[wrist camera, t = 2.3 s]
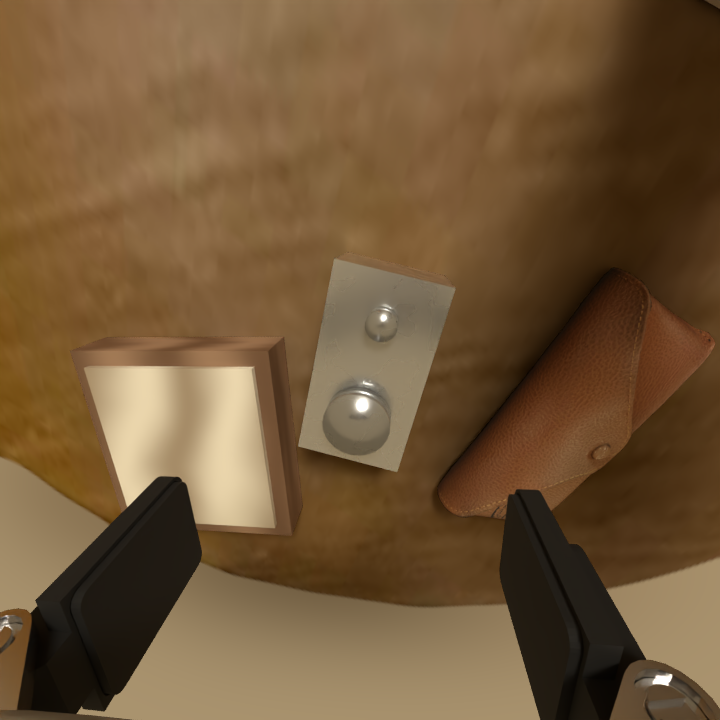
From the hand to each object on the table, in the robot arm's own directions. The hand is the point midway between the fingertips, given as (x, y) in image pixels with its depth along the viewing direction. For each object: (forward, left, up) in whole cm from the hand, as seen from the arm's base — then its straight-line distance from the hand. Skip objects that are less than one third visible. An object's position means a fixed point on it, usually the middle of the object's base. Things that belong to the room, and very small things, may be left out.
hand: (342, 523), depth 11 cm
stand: (+13, +6, -15) cm, 20 cm away
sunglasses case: (-12, +4, -15) cm, 20 cm away
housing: (0, -1, -15) cm, 15 cm away
